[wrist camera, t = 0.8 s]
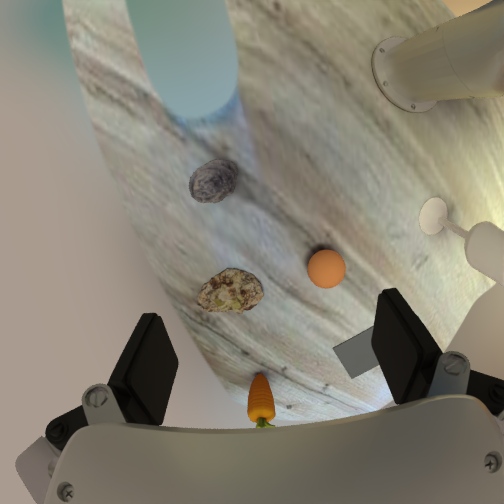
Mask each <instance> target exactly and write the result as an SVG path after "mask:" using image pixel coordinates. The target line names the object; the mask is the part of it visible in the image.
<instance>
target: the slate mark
mask: <svg viewBox="0 0 504 504" xmlns="http://www.w3.org/2000/svg"><path fill="white" fill-rule="evenodd" d="M373 327H374V326H372V327H371V328H369V329H367V330H365V331H363V332H362V333H360V334H358V335H356V336H354V337H353V338H351V339H349V340H347V341H345V342H343V343H341V344H339V345H338V346H336V347H334V348H333V350H334V352H335V353H336V355H337V356H338V358H339V359H340V361H341V363H342V364H343V366H344V367H345V369H346V370H347V372H348V374H349V375H350V377H351V378H352V379H353V378H355V377H357V376H359V375H361V374H363V373H364V372H366V371H368V370H370V369H372V368H374V367H376V366H378V365H379V362H378V360H377V358H376V356H375V353H374V351H373V349H372V346H371V338H372V333H373Z"/></svg>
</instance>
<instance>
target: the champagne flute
mask: <svg viewBox="0 0 504 504" xmlns="http://www.w3.org/2000/svg"><path fill="white" fill-rule="evenodd" d="M419 224H420V227H421V229H422V231H423V232H424V233H425V234H427V235H434V234H437V233H438V232H439V231H441V229H442V228H443V227H444V226H445V227H446V228H448V229H450V230H451V231H453V232H455V233H456V234H458V235H460V236H461V237H463V238H464V239H465V247H464V248H465V255H466V258H467V261H468V263H469V264H470V265H471V267H473V268H474V269H476V270H478V271H479V272H481V273H483V274H484V275H486V276H488V277H489V278H491V279H493V280H494V281H496V282H497V283H499V284H500V285H502V286H504V231H502V230H501V229H500V228H498V227H497V226H496V225H494V224H493V223H491V222H487V221H484V222H481V223H478V224H476V225H474V226H473V227H472V228H471V229H470V230H469V231H466V230H464V229H463V228H461V227H459V226H457V225H456V224H454V223H452V222H450V221H448V220H447V207H446V204H445V203H444V201H443V200H442V199H440V198H437V197H434V198H431V199H429V200H428V201H426V202H425V204H424V205H423V207H422V209H421V211H420V215H419Z"/></svg>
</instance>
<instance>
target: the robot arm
mask: <svg viewBox="0 0 504 504" xmlns="http://www.w3.org/2000/svg"><path fill="white" fill-rule="evenodd" d="M372 68H373V74H374V77H375V79H376V82H377V84H378V86H379V88H380V89H381V91H382V92H383V93H384V95H385V96H386V97H387V98H388V99H389V100H390V101H391V102H392V103H393V104H395V105H396V106H398V107H399V108H401V109H403V110H406V111H408V112H414V113H416V112H425V111H428V110H430V109H431V108H433V107H434V106H435V105H436V103H437V102H438V101H439V100H452V99H470V98H495V97H500V96H503V95H504V0H492V1H491V2H489V3H487V4H485V5H483V6H481V7H480V8H478V9H476V10H473V11H471V12H469V13H467V14H464V15H462V16H459V17H457V18H454V19H452V20H450V21H448V22H445V23H443V24H441V25H438V26H436V27H434V28H431V29H429V30H427V31H425V32H423V33H421V34H418V35H416V36H414V37H412V38H410V39H406V38H402V37H391V38H388V39H386V40H384V41H382V42H381V43H379V45H378V46H377V47H376V48H375V51H374V53H373V57H372ZM383 84H384V85H383ZM371 346H372V349H373V351H374V353H375V356H376V358H377V360H378V362H379V365H380V367H381V369H382V372H383V374H384V377H385V379H386V381H387V384H388V386H389V389H390V391H391V394H392V396H393V399H394V401H395V403H396V404H397V405H398V404H399V405H398V406H394V407H390V408H386V409H382V410H377V411H373V412H369V413H365V414H360V415H355V416H350V417H345V418H340V419H334V420H328V421H322V422H315V423H308V424H300V425H291V426H281V427H268V428H249V429H198V428H179V427H166V426H159V425H162V423H163V420H164V416H165V412H166V408H167V405H168V400H169V397H170V394H171V390H172V386H173V383H174V379H175V376H176V372H177V369H178V358H177V356H176V353H175V351H174V349H173V346H172V344H171V341H170V338H169V336H168V333H167V331H166V328H165V326H164V323H163V320H162V318H161V316H158V315H157V314H156V313H144V314H143V315H142V316H141V318H140V320H139V322H138V323H137V326H136V327H135V329H134V331H133V333H132V335H131V337H130V339H129V341H128V342H127V344H126V346H125V349H124V350H123V352H122V354H121V356H120V358H119V360H118V362H117V364H116V367H115V369H114V370H113V372H112V374H111V376H110V379H109V382H108V384H107V385H106V384H96V385H92V386H91V387H89V388H88V389H87V390H86V391H85V392H84V394H83V396H82V405H81V406H79V407H77V408H75V409H73V410H71V411H69V412H67V413H65V414H63V415H61V416H59V417H57V418H55V419H54V420H52V421H51V422H50V423H49V424H48V426H47V428H46V432H45V434H46V436H45V437H43V436H41V437H40V438H38V439H37V440H36V441H35V442H34V443H33V444H32V445H31V446H30V447H28V448H27V449H26V450H25V451H24V452H23V453H22V454H20V455H19V456H18V458H17V460H16V470H17V472H18V474H19V476H20V477H21V479H22V481H23V483H24V484H25V486H26V488H27V489H28V491H29V492H30V494H31V495H32V497H33V499H34V500H35V502H36V503H37V504H504V380H501V379H498V378H495V377H492V376H489V375H485V374H483V373H480V372H477V371H474V370H471V369H470V362H469V360H468V359H467V357H466V356H464V355H463V354H461V353H459V352H456V351H449V352H446V353H443V352H442V351H441V349H440V348H439V346H438V345H437V343H436V342H435V340H434V339H433V337H432V336H431V334H430V333H429V331H428V330H427V328H426V327H425V325H424V324H423V323H422V321H421V320H420V318H419V317H418V316H417V315H416V314H415V313H414V311H413V310H412V309H411V307H410V306H409V305H408V303H407V302H406V300H405V299H404V298H403V296H402V295H401V294H400V292H399V291H398V290H397V289H396V288H390V289H384V290H383V291H382V293H381V294H379V296H378V302H377V309H376V315H375V321H374V327H373V333H372V338H371Z"/></svg>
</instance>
